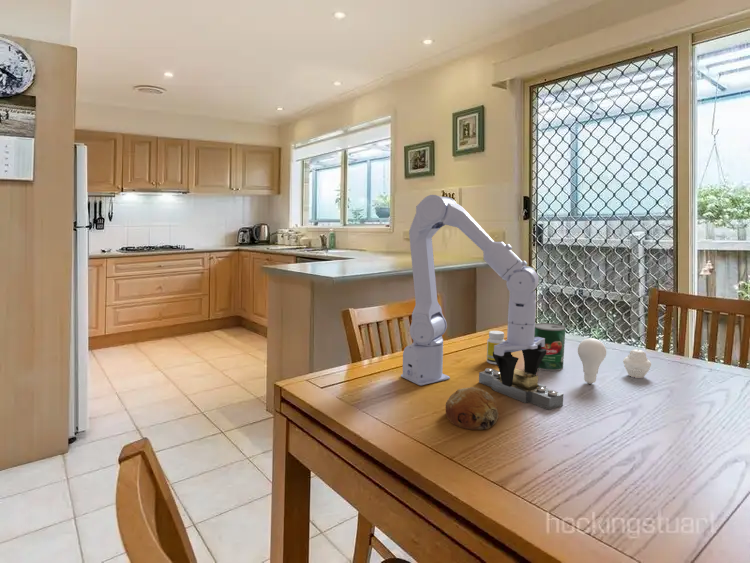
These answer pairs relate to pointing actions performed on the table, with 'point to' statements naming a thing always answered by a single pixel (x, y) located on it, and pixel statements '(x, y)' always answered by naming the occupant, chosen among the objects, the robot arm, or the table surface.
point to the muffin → (637, 364)
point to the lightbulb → (591, 357)
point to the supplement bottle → (494, 339)
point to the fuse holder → (522, 391)
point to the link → (524, 380)
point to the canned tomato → (551, 345)
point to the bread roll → (472, 409)
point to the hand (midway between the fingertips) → (518, 381)
